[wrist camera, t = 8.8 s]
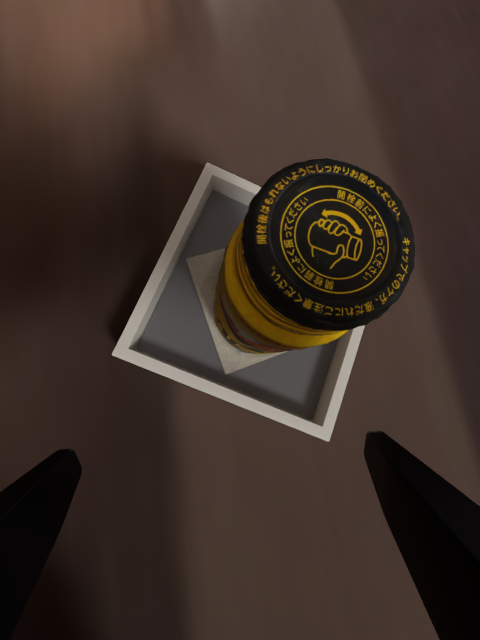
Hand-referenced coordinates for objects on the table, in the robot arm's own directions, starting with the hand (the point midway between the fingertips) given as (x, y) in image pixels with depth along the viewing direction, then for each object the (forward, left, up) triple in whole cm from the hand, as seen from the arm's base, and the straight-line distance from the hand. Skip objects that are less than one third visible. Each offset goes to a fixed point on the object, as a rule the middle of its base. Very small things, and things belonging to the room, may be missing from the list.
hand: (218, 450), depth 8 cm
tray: (+8, -1, -11) cm, 13 cm away
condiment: (+8, 0, -10) cm, 13 cm away
